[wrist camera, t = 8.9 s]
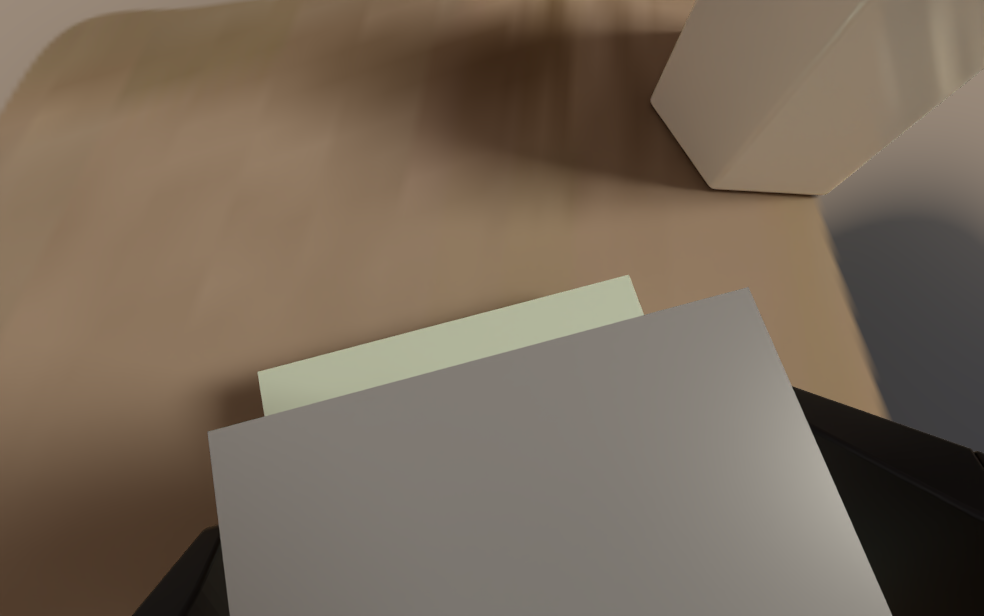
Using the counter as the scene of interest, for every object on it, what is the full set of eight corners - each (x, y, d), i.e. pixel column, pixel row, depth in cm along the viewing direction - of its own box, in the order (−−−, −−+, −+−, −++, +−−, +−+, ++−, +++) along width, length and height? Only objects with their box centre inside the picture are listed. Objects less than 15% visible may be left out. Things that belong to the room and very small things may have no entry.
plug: (582, 563, 16) (1040, 954, 3) (449, 605, 16) (309, 1273, 3) (542, 428, 18) (748, 287, 4) (417, 464, 17) (207, 431, 4)
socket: (730, 648, 16) (784, 686, 13) (359, 777, 15) (332, 847, 12) (606, 304, 19) (629, 274, 17) (291, 387, 18) (257, 372, 15)
